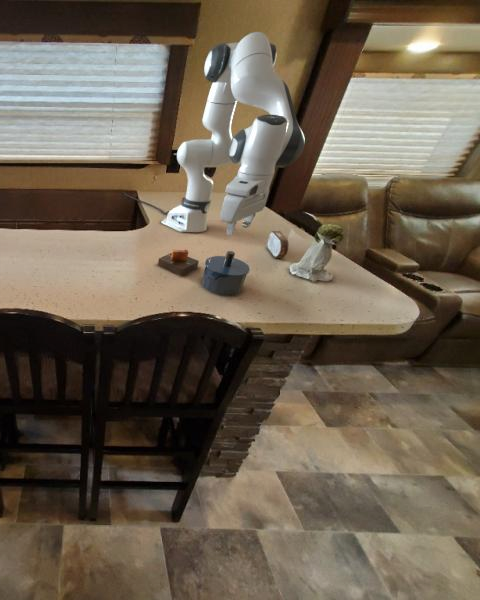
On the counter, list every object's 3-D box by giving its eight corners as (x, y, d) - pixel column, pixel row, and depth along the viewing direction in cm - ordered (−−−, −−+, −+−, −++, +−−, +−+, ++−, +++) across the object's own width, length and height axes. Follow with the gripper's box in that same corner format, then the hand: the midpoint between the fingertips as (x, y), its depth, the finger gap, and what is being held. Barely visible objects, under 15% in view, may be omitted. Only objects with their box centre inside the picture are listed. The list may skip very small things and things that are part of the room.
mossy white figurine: (281, 266, 112) (301, 219, 102) (313, 264, 113) (335, 218, 102) (303, 282, 102) (328, 232, 92) (338, 280, 103) (366, 230, 93)
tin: (283, 262, 115) (292, 242, 110) (275, 261, 116) (283, 241, 111) (271, 246, 127) (278, 227, 123) (263, 245, 128) (270, 227, 123)
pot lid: (196, 266, 98) (200, 251, 95) (218, 255, 105) (222, 240, 102) (235, 282, 90) (241, 266, 86) (256, 269, 97) (262, 253, 93)
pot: (189, 286, 101) (194, 267, 97) (217, 270, 110) (223, 252, 106) (224, 303, 93) (231, 282, 89) (251, 284, 102) (258, 264, 98)
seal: (171, 260, 111) (173, 251, 109) (171, 258, 112) (172, 249, 110) (186, 260, 110) (188, 251, 108) (185, 258, 112) (187, 249, 110)
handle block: (157, 265, 114) (158, 258, 112) (173, 258, 119) (174, 250, 117) (181, 276, 107) (183, 268, 105) (197, 267, 112) (199, 260, 110)
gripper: (258, 176, 90) (244, 220, 97) (222, 187, 79) (210, 235, 87) (280, 179, 86) (263, 225, 93) (246, 191, 75) (230, 242, 83)
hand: (237, 230), depth 90 cm, fingers open, 8 cm apart
